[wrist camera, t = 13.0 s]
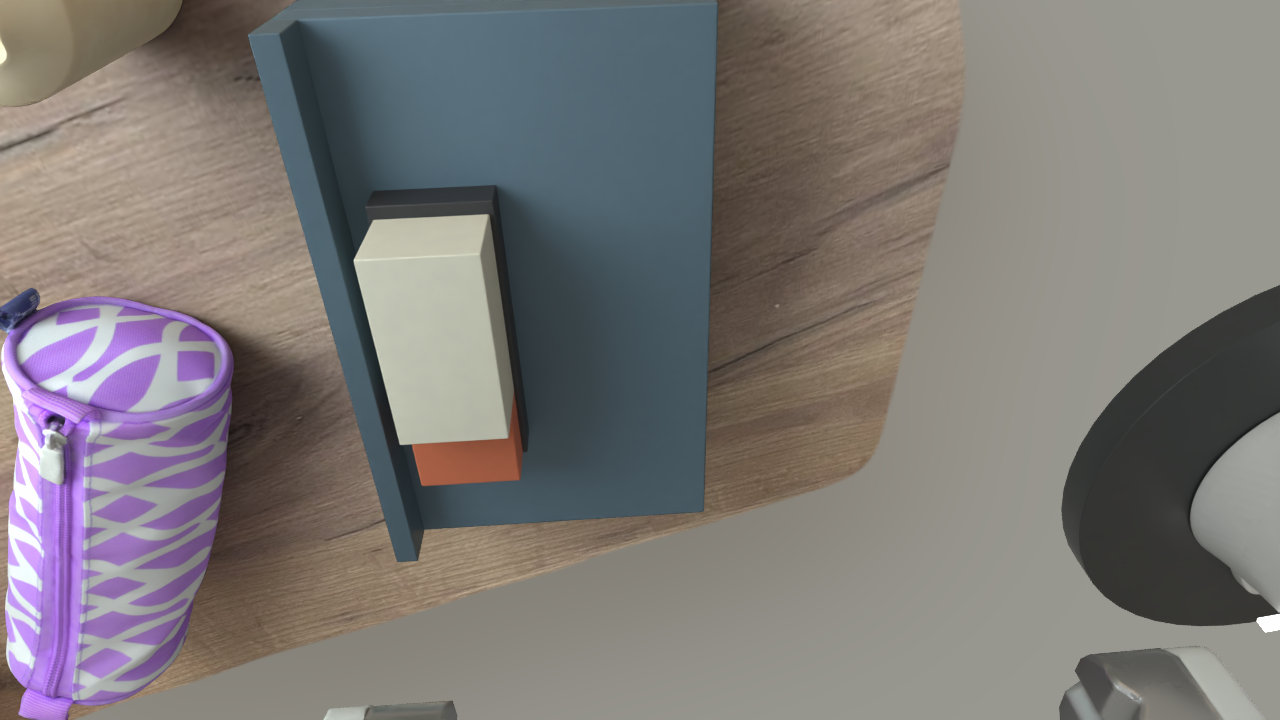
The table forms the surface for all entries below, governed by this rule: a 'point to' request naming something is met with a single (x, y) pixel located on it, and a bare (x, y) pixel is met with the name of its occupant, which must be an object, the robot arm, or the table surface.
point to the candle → (70, 41)
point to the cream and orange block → (446, 330)
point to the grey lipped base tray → (524, 225)
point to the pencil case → (108, 492)
